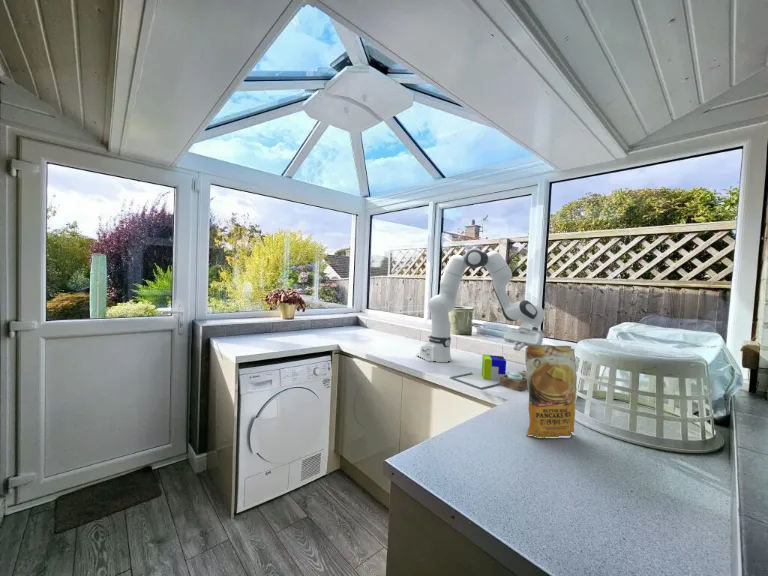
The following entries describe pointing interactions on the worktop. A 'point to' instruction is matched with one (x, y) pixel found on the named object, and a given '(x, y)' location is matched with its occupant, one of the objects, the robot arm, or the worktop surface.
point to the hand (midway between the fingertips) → (516, 349)
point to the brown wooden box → (515, 382)
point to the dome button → (515, 376)
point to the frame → (471, 384)
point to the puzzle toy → (493, 367)
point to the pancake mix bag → (551, 390)
